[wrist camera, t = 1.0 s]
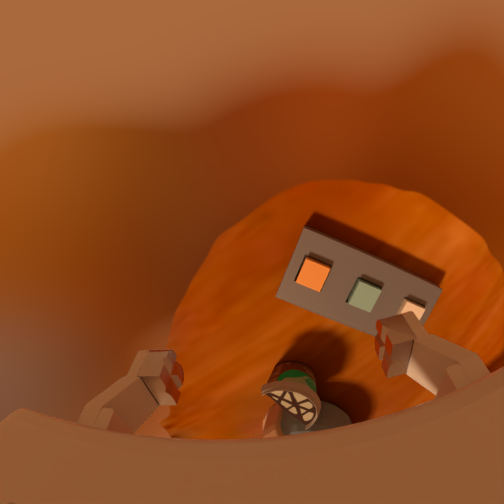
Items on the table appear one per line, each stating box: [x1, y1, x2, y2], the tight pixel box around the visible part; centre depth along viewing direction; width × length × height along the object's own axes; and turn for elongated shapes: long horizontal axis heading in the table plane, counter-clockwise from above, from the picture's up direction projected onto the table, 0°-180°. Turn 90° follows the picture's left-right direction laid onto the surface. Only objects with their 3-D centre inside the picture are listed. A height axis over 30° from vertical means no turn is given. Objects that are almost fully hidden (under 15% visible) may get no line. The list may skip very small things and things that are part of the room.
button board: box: [275, 226, 442, 336], centre depth 43 cm, size 26×12×3 cm, turn 70°
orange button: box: [296, 256, 330, 292], centre depth 43 cm, size 4×4×2 cm
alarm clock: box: [263, 401, 352, 438], centre depth 48 cm, size 19×20×12 cm
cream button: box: [394, 297, 425, 320], centre depth 41 cm, size 4×4×2 cm
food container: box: [261, 361, 321, 430], centre depth 46 cm, size 12×6×10 cm, turn 46°
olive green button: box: [347, 278, 382, 312], centre depth 42 cm, size 4×4×2 cm
